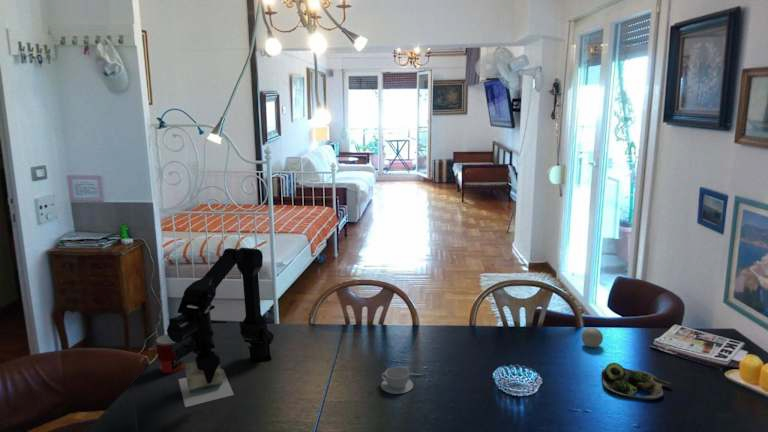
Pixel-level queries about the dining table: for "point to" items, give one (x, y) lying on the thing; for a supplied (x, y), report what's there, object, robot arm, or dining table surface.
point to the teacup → (396, 380)
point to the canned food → (168, 356)
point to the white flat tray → (205, 392)
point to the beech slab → (200, 377)
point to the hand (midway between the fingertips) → (206, 376)
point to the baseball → (592, 337)
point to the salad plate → (631, 382)
